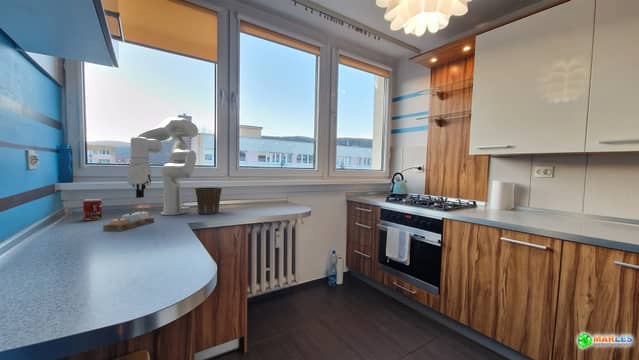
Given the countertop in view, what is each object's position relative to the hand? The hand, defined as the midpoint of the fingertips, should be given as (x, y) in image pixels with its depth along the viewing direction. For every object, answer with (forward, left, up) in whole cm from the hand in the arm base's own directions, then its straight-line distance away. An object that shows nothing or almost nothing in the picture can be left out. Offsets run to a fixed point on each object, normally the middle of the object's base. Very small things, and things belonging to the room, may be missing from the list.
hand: (140, 197), depth 132 cm
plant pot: (-36, -17, -14) cm, 42 cm away
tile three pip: (+8, +10, -13) cm, 18 cm away
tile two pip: (+4, +5, -11) cm, 13 cm away
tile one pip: (0, 0, -11) cm, 11 cm away
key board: (+4, +5, -13) cm, 15 cm away
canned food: (+22, -25, -14) cm, 36 cm away
